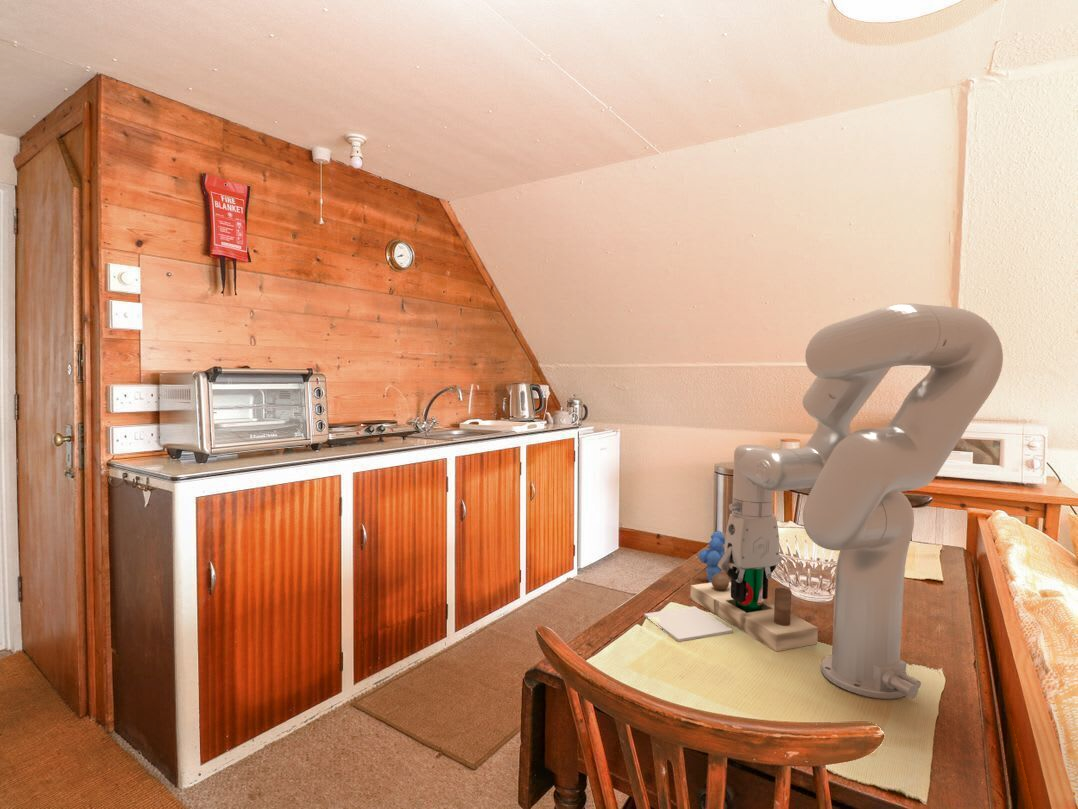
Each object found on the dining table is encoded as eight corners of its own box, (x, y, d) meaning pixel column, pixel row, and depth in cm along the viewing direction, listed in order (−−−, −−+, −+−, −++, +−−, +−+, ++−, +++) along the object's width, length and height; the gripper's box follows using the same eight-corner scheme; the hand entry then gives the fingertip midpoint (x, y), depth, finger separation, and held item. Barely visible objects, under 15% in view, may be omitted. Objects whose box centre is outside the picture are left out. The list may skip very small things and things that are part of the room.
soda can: (763, 625, 116) (766, 565, 115) (736, 623, 117) (738, 563, 116) (759, 615, 121) (761, 557, 120) (733, 613, 122) (735, 555, 121)
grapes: (701, 572, 146) (702, 524, 146) (729, 576, 143) (731, 527, 143) (692, 587, 136) (693, 535, 135) (723, 592, 133) (725, 539, 132)
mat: (732, 632, 113) (732, 630, 112) (678, 641, 108) (678, 639, 108) (694, 608, 124) (694, 606, 124) (644, 616, 119) (644, 613, 119)
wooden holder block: (817, 643, 108) (819, 595, 108) (776, 651, 105) (778, 601, 105) (726, 593, 132) (727, 553, 132) (690, 598, 129) (691, 557, 129)
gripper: (729, 515, 111) (725, 611, 112) (800, 509, 117) (796, 600, 118) (704, 506, 118) (701, 596, 119) (773, 501, 124) (769, 587, 125)
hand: (749, 597), depth 118 cm, fingers closed on soda can, 5 cm apart
